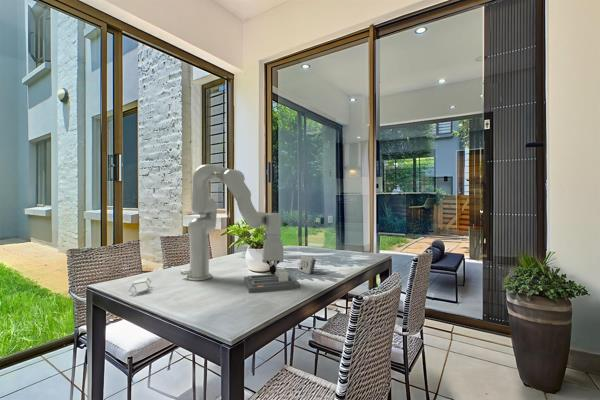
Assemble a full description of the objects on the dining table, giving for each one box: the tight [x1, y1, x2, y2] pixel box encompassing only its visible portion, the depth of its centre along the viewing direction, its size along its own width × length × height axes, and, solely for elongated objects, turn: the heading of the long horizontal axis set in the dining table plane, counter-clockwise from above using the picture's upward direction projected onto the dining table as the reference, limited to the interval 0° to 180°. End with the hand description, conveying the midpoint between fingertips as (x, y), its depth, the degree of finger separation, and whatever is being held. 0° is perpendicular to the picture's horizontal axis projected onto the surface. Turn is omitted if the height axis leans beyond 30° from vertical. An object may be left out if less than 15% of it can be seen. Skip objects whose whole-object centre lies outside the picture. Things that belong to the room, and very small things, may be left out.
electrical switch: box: [298, 254, 317, 275], centre depth 175 cm, size 9×5×9 cm, turn 41°
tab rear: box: [275, 266, 286, 277], centre depth 157 cm, size 4×3×4 cm
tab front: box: [278, 271, 289, 282], centre depth 148 cm, size 4×3×4 cm
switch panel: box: [243, 273, 301, 294], centre depth 151 cm, size 24×20×3 cm
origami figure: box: [128, 277, 153, 294], centre depth 141 cm, size 12×8×5 cm
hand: (272, 273), depth 156 cm, fingers closed
